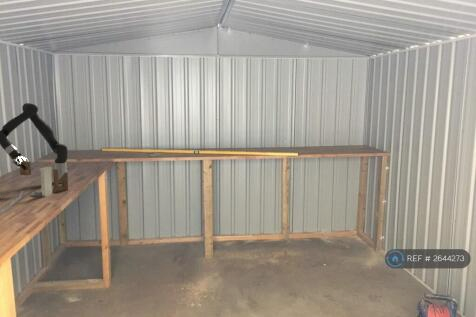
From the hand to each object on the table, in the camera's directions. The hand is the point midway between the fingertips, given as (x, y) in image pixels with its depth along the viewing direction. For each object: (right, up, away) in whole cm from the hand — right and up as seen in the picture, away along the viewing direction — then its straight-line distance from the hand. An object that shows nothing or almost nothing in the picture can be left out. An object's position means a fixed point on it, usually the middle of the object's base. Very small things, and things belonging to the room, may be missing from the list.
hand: (27, 168), depth 317 cm
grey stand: (+10, -20, +1) cm, 22 cm away
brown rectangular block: (-2, -4, +1) cm, 5 cm away
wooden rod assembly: (+18, -18, +15) cm, 30 cm away
